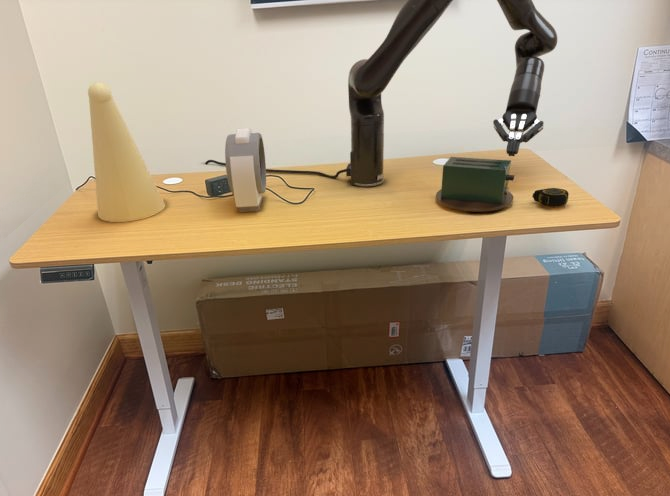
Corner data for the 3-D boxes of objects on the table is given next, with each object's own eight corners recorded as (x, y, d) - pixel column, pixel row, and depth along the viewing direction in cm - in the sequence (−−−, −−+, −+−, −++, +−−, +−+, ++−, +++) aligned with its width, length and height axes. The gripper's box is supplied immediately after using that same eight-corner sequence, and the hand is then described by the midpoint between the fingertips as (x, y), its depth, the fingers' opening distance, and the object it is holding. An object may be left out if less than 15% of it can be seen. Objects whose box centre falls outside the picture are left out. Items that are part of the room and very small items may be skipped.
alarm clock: (263, 215, 138) (255, 137, 128) (231, 217, 138) (220, 139, 128) (269, 193, 153) (262, 121, 143) (240, 194, 154) (231, 123, 144)
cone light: (100, 203, 154) (67, 75, 137) (164, 195, 158) (139, 68, 140) (92, 235, 133) (51, 88, 116) (166, 224, 137) (136, 79, 119)
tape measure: (555, 199, 135) (558, 185, 133) (572, 208, 129) (575, 193, 127) (531, 202, 134) (533, 188, 133) (546, 211, 128) (549, 196, 127)
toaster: (427, 206, 134) (429, 170, 129) (445, 183, 148) (447, 150, 144) (506, 215, 126) (512, 177, 121) (518, 189, 140) (523, 155, 136)
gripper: (497, 87, 140) (484, 145, 136) (552, 87, 134) (539, 148, 131) (498, 104, 146) (485, 160, 143) (550, 105, 141) (538, 163, 137)
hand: (511, 154), depth 137 cm, fingers closed
